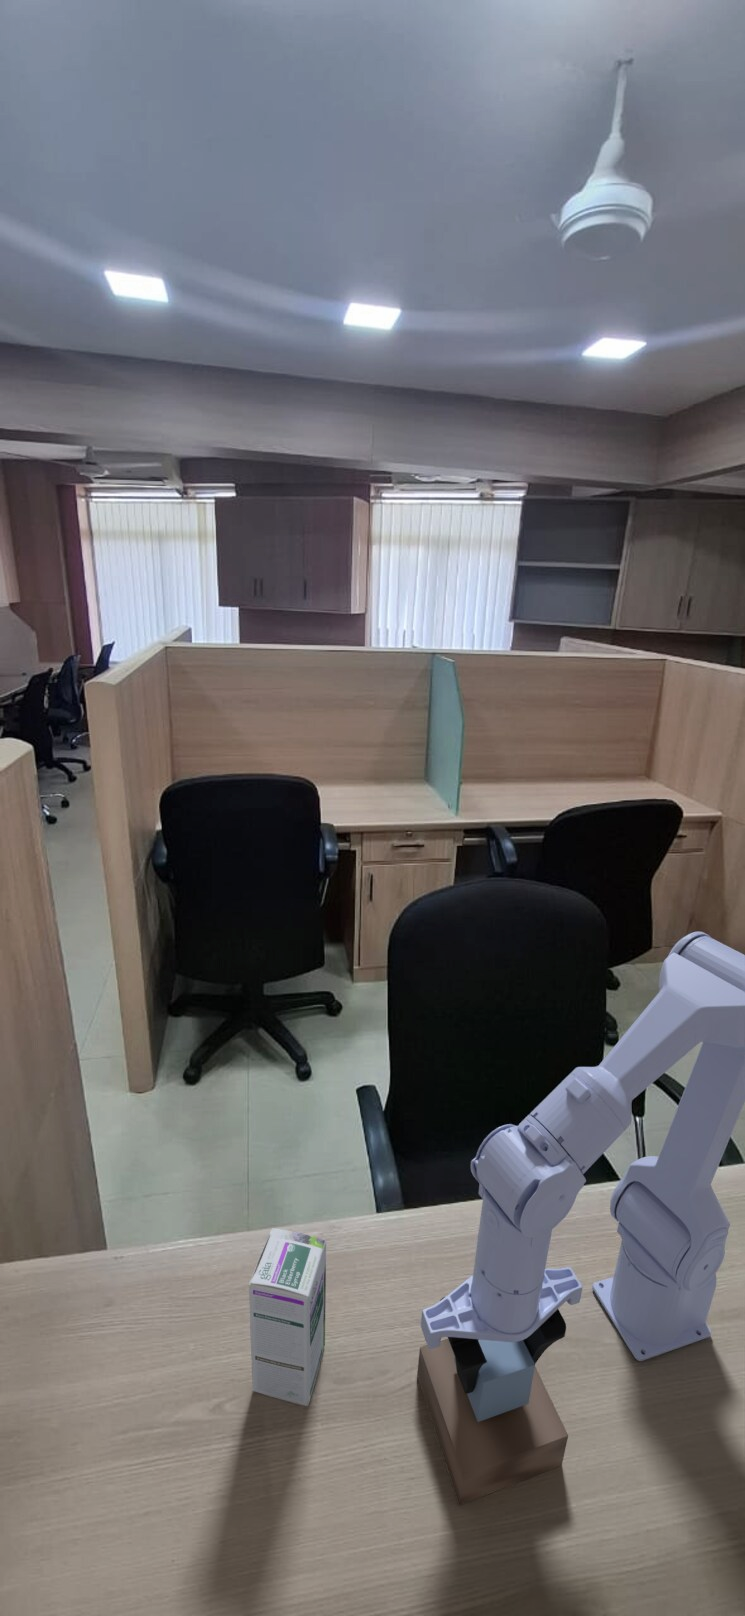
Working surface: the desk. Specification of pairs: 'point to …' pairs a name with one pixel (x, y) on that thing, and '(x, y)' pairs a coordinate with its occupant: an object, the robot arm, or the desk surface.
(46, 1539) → the desk surface
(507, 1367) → the blue cube
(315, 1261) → the syrup box
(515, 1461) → the walnut block
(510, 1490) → the desk surface
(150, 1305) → the desk surface
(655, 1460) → the desk surface
